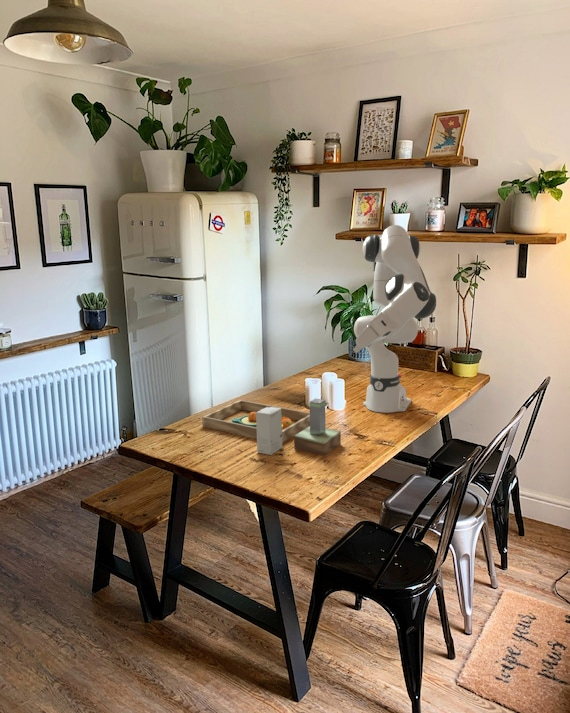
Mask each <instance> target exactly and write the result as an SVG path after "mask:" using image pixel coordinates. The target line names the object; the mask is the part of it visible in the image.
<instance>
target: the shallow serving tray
mask: <svg viewBox="0 0 570 713" xmlns="http://www.w3.org/2000/svg"><path fill="white" fill-rule="evenodd" d="M266 407H275V408H281V418H282V417H288V418H289V419H290V420H291V419H292V420H291V421H296V420H297V421H296V422H295V423H293V424H292V425H291V426H289V427H287V428H285V429H284V430H282V443H285V442H286V441H287V440H289V439H290V438H293V437H294V435H296V434H298V433H299V432H301V431H303V430H304V429H306V428H308V427H309V426H310V411H302V410H298V409H293V408H286V407H281V406H276V405H272V404H271V405H270V404H266V403H259V402H254V401H248V400H243V399H239V400H237V401H235V402H233V403H231V404H228V405H226V406H224V407H221V408H219V409H218V410H215V411H213V412H210V413H207V414H206V415H203V416H202V417H201V421H202V427H203V428H206V427H207V429H210V428H212V429H211V430H215V429H216V430H215V431H219V430H220V432H224V431H225V432H224V433H228V432H229V433H230V434H232V435H233V434H234V435H237V436H238V435H239V436H242V437H247V438H250V439H256V440H257V429H256V427H252V426H247V425H243V424H238V423H233V422H228V421H229V420H223V419H225V418H228V417H229V416H232V415H233V414H236V413H237V412H240V411H245V412H250V411H251V412H258V411H260V410H261V409H264V408H266ZM251 412H250V413H251Z"/></svg>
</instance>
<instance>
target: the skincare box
mask: <svg viewBox="0 0 570 713" xmlns="http://www.w3.org/2000/svg"><path fill="white" fill-rule="evenodd" d="M256 429H257V439H256V449H257V451H256V452H257V453H259V454H264V455H267V456H272V455H273V454H275V453H276V452H278V451H279V450H281V449H282V448H283V442H282V420H281V408H275V407H266V408H264V409H261V410H260V411H258V412H256Z"/></svg>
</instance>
